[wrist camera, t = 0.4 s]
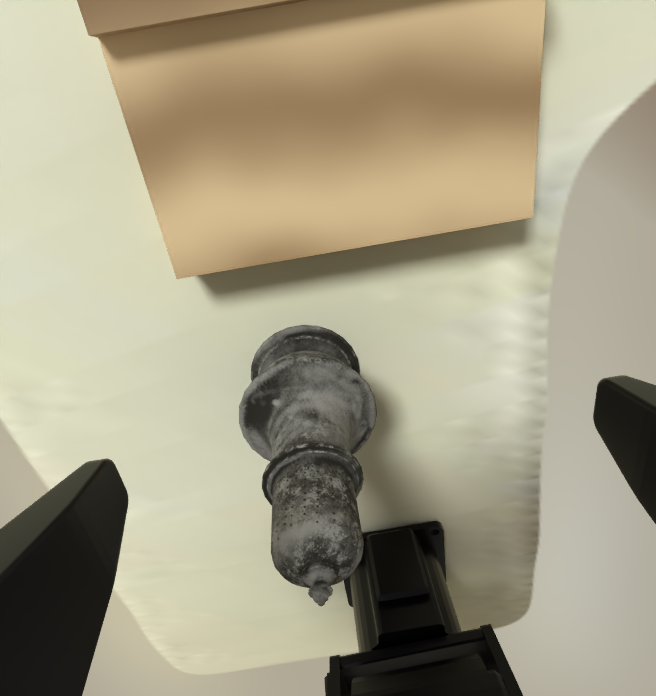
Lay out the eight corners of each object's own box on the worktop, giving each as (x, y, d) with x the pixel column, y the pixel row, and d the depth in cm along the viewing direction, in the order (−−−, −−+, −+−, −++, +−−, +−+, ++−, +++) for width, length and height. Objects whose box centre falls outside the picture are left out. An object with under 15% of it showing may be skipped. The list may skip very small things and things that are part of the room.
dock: (512, 205, 20) (543, 222, 18) (185, 262, 21) (172, 286, 18) (521, -67, 16) (563, -93, 14) (106, 6, 16) (75, -7, 14)
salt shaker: (377, 403, 25) (444, 637, 14) (269, 434, 25) (258, 683, 15) (346, 303, 22) (402, 505, 12) (225, 340, 23) (174, 566, 12)
